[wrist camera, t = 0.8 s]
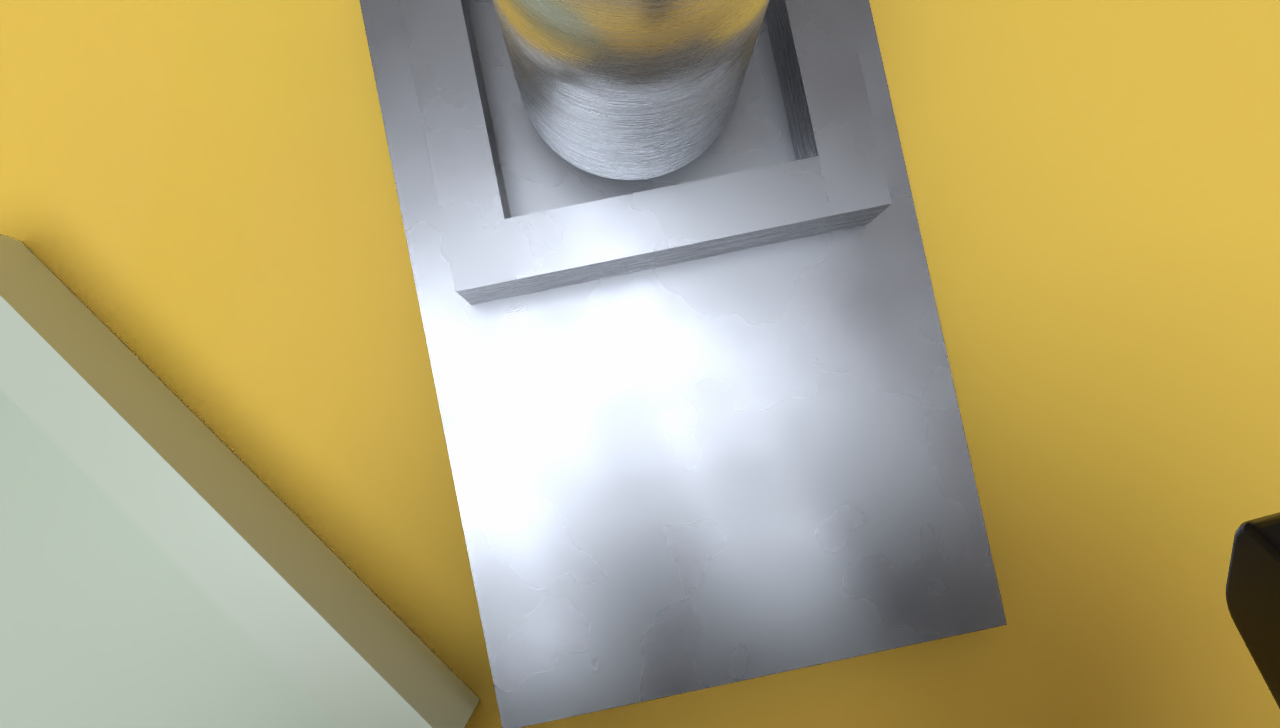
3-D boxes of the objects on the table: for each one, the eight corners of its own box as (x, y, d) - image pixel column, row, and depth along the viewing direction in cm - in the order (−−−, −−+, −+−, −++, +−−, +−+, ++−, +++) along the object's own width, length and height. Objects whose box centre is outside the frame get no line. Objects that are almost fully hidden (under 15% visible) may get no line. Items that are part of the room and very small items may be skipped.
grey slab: (989, 616, 22) (1046, 643, 19) (508, 717, 22) (490, 762, 19) (822, -143, 23) (852, -228, 20) (357, -52, 23) (317, -126, 20)
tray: (480, 699, 22) (453, 748, 19) (82, 1108, 22) (-23, 1238, 18) (20, 240, 23) (-91, 204, 19) (-381, 632, 22) (-573, 668, 18)
